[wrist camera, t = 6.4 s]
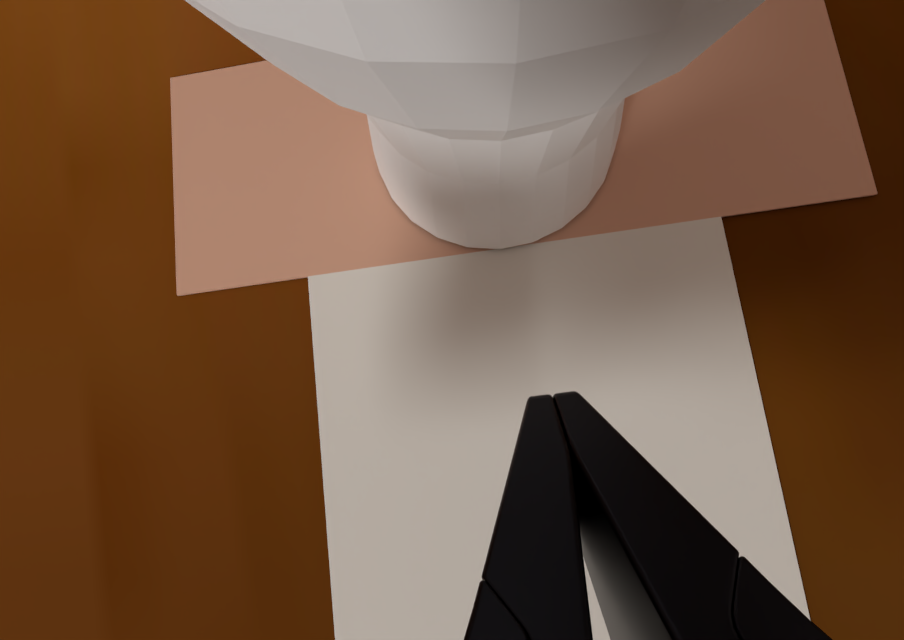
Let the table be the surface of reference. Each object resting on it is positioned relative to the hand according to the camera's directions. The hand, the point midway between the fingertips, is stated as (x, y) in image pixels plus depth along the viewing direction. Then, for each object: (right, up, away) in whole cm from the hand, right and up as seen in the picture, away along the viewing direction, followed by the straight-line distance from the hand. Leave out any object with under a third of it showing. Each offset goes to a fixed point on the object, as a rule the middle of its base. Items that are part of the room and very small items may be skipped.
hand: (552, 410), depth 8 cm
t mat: (0, +1, +6) cm, 6 cm away
